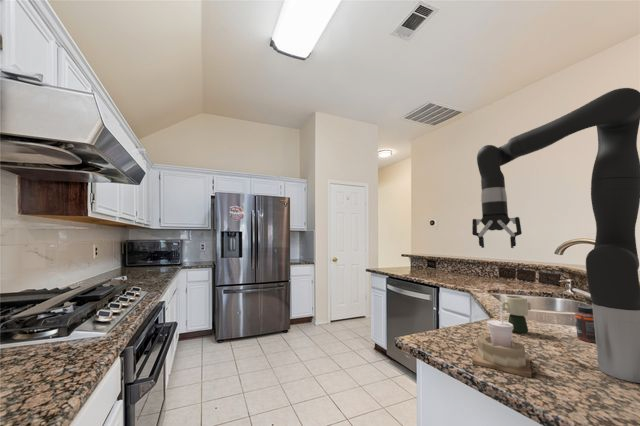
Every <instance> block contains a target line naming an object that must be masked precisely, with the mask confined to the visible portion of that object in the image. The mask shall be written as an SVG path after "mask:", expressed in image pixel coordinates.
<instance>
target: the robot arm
mask: <svg viewBox="0 0 640 426" xmlns="http://www.w3.org/2000/svg"><path fill="white" fill-rule="evenodd" d="M639 126H640V91H639V90H638V89H635V88H631V87H620V88H617V89H612V90H611V91H608V92H606V93H604V94H602V95H600V96H598V97H596V98H594V99H593V100H591V101H590V102H587V103H586V104H583V105H582V106H580V107H579V108H576V109H574V110H572V111H571V112H569V113H567V114H565V115H562V116H560V117H558V118H556V119H554V120H552V121H550V122H549V121H548V123H546V124H543V125H540V126H537V127H536V128H533V129H530V130H528V131H526V132H522V133H521V134H518V135H515V136H513V137H511V138H509V139H508V141H507V143H505V144H504V145H501V146H499V147H497V146H495V145H492V144H486V145H484V146H482V147H481V148H480V149H478V152H477V155H476V164H477V168H478V172H479V175H480V183H481V184H480V186H481V195H480V202H481V213H482V214H481V215H482V217H481V219H480V218H477V219H476V218H473V219H472V231H471V232H472V235H473V236H475V237H477V238H478V245H479V247H481V248H482V249H484V248H485V240H484V239H485V238H484V236H485V234H486V233H487V231H503V230H504V231H506V232H507V233H508V235H509V238H510V239H509V241H510V248H511V249H514V247H516V245H517V242H516V241H517V240H516V237H517V236H522V234H523V232H522V226H521V218H520V217H519V216H516V217H509V212H508V198H507V197H508V196H507V191H506V183H505V175H504V173H503V172H502V169H501V166H504V165H506V164H508V163H510V162H512V161H514V160H516V159H518V158H520V157H523V156H526V155H529V154H531V153H535V152H538V151H539V150H540V151H541V150H543V149H545V148H547V147H549V146H552V145H554V144H556V143H557V142H559V141H560V140H562V139H564V138H566V137H568V136H570V135H573V134H576V133H577V132H580V131H582V130H583V131H584V130H586V129H589V128H592V127H596V132H597V142H598V143H597V153H596V155H595V160H594V163H593V167H592V174H591V180H590V200H591V206H592V207H591V208H592V212H593V216H594V219H595V226H596V227H595V229H596V232H595V241H594V247H593V249H591V250H590V251H589V252H588V253H587V254H586V257H585V269H586V277H587V285H588V286H587V287H588V292H589V294H590V298H591V307H592V308H593V317H594V327H595V337H596V343H595V344H596V346H595V347H596V355H597V364H598V365H597V366H598V370H599V371H601V372H602V373H604V374H606V375H608V376H610V377H614V378H616V379H619V380H622V381H626V382H631V383H637V384H640V278H639V268H640V260H639V259H640V258H639V255H638V248H637V240H636V225H637V221H638V215H639V209H640V155H639V151H638V145H637V143H638V133H639ZM510 222H511V223H512V224H513V225H515V227H516V228H515V229H516V231H514V232H513V231H512V230H511V229H510V228H509V227H508V224H509V223H510ZM480 223H482V224H483V226H484V227H483V228H482V229H481V230H480V232H478V226H479V225H480Z"/></svg>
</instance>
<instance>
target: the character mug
mask: <svg viewBox="0 0 640 426" xmlns="http://www.w3.org/2000/svg"><path fill="white" fill-rule="evenodd" d="M501 308H502V311H505V312H506V313H507V314H509V315H508V321H507V322H508V323H511V324H512V325H513V328H514V329H513V330H512V332H514V331H515V333H517V332H518V333H522V334H527V333H528V332H529V327H528V323H527V320H526V317H525V316H529V311H531V310H532V307H531V302H530V301H528V298H527V297H526V296H521V295H512V294H509V295H508V294H507V295H506V294H505V295H504V301H502V302H501Z"/></svg>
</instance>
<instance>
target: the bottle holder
mask: <svg viewBox="0 0 640 426" xmlns="http://www.w3.org/2000/svg"><path fill="white" fill-rule="evenodd" d="M476 340H477V341H476V342H477V347H476V349H475V352H474V354H473V357H472V360H471V361H472V365H475V366H480V367H485V368H489V369H493V370H497V371H501V372H506V373H509V374H514V375H519V376H522V377H524V378H525V377H526V378H530V379H532V370H531V360H530V356H529V355H527V354H526V350H525V344H524V343H522V342H520V341H519V340H517V339H513V338H512V340H511V347H504V346H498V345H494V344H492V342H491V336H490V334H481V335H478V337H477V339H476Z"/></svg>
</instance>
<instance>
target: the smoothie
mask: <svg viewBox="0 0 640 426" xmlns="http://www.w3.org/2000/svg"><path fill="white" fill-rule="evenodd" d="M503 311H504V310H503V309H502V307H499V313H500V320H499V319H497V320H496V319H493V320H492V319H489V320H487V321H486V325H487V326H488V330H489V331H488V332H489V335H490V336H491V342H492V344H494V345H498V346H504V347H511V340H512V339H513V329H514V328H513V325H512V324H511V323H508V321H505V320H504V314H503Z"/></svg>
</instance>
